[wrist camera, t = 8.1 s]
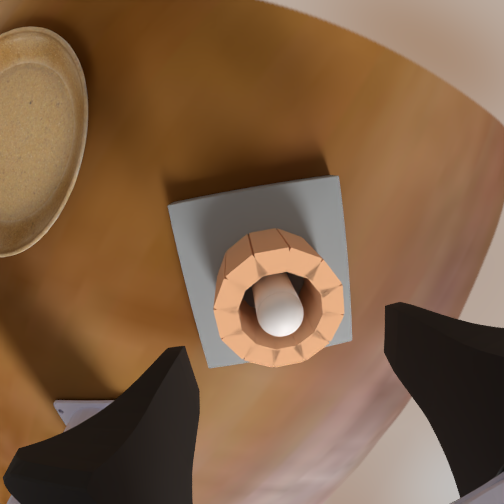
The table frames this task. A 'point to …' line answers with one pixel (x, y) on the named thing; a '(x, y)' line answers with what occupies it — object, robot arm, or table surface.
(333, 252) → the post base
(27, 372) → the table surface
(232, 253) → the ring
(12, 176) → the plant saucer
